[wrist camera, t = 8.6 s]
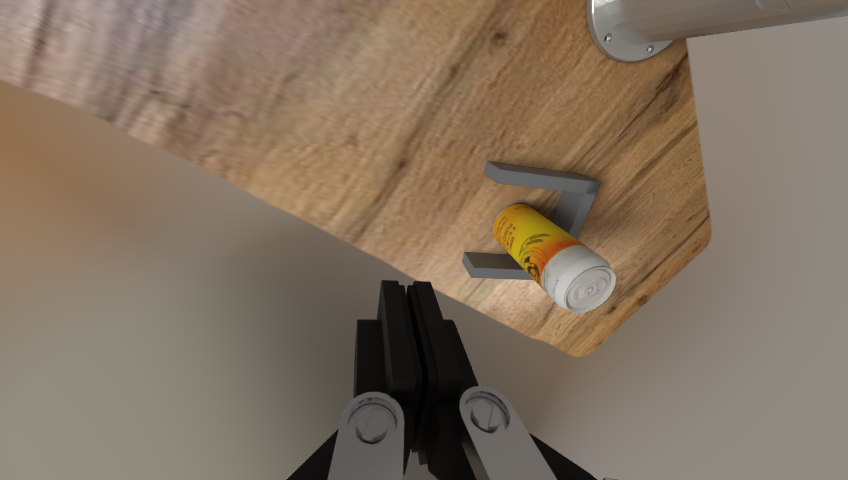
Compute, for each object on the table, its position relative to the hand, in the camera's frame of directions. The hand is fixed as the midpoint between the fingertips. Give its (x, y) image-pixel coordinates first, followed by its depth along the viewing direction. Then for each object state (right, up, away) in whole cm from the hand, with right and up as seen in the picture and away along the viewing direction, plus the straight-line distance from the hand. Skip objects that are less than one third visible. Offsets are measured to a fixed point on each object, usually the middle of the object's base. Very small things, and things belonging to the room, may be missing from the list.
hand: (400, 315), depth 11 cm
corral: (+13, +5, +30) cm, 34 cm away
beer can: (+13, +5, +30) cm, 33 cm away
